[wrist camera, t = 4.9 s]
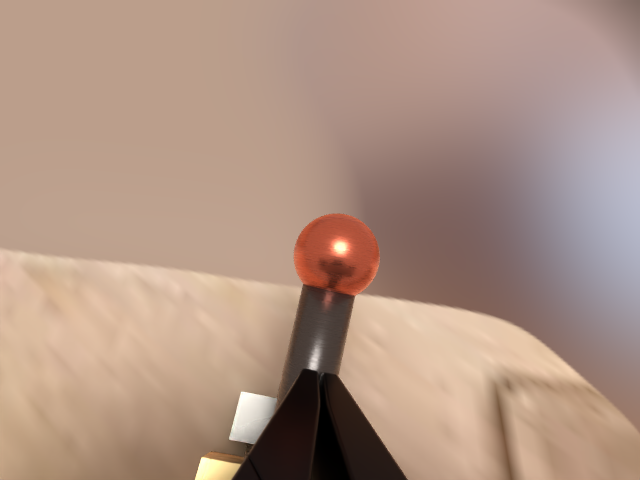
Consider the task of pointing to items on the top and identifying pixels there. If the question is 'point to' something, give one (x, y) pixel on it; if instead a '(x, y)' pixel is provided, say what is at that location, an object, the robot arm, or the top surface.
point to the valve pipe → (239, 436)
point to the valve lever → (327, 292)
